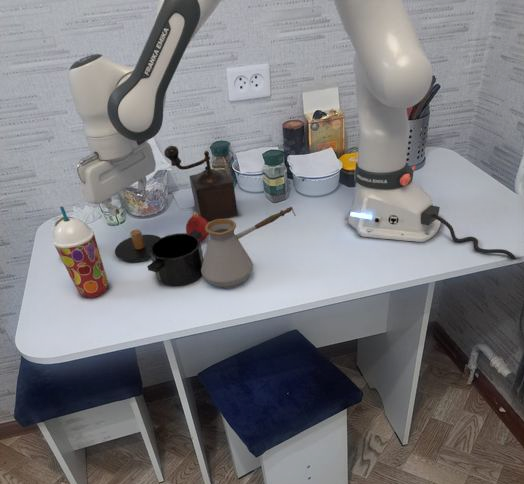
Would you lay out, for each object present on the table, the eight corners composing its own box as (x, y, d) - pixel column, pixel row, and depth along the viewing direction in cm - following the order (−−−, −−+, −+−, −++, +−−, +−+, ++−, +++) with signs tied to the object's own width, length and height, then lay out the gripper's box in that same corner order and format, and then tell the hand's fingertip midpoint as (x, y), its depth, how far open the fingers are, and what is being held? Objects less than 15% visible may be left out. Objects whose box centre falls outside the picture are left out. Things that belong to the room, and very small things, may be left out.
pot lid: (174, 243, 119) (170, 225, 115) (142, 268, 111) (137, 249, 108) (138, 234, 124) (133, 216, 120) (105, 257, 116) (99, 239, 113)
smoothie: (91, 277, 110) (59, 196, 97) (120, 283, 107) (91, 200, 94) (68, 298, 104) (30, 214, 91) (98, 304, 102) (64, 219, 88)
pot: (221, 259, 111) (216, 233, 106) (178, 298, 101) (171, 270, 96) (184, 250, 116) (178, 224, 111) (139, 286, 106) (130, 259, 101)
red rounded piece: (208, 249, 115) (202, 219, 110) (185, 248, 117) (179, 218, 111) (214, 237, 120) (209, 207, 114) (193, 236, 121) (187, 207, 115)
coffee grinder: (229, 199, 135) (220, 134, 123) (238, 215, 127) (230, 147, 115) (176, 210, 133) (161, 145, 121) (182, 227, 125) (167, 159, 113)
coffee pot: (203, 296, 101) (190, 233, 91) (202, 267, 109) (191, 207, 99) (301, 283, 101) (299, 219, 91) (293, 256, 110) (291, 194, 100)
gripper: (85, 164, 93) (107, 228, 102) (152, 130, 105) (166, 189, 114) (63, 161, 95) (87, 223, 105) (131, 127, 108) (147, 186, 117)
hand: (129, 205), depth 110 cm, fingers open, 8 cm apart
